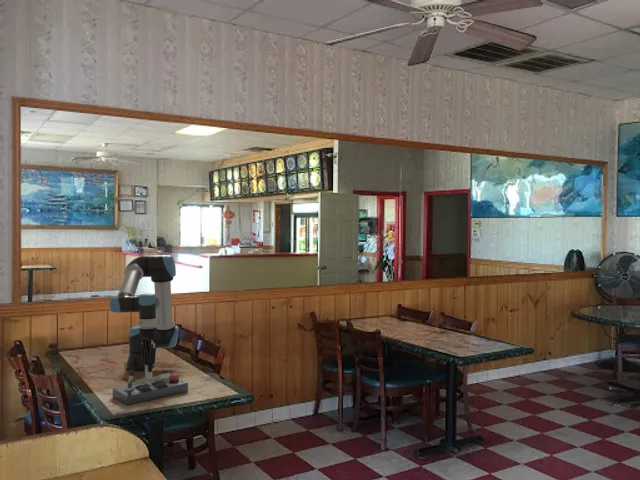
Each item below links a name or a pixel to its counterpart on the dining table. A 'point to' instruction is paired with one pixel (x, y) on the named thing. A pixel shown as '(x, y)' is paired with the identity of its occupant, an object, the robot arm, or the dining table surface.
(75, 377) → the dining table surface
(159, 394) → the panel
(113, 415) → the dining table surface
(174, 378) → the button
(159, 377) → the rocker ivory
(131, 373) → the lever
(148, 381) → the white flat block
